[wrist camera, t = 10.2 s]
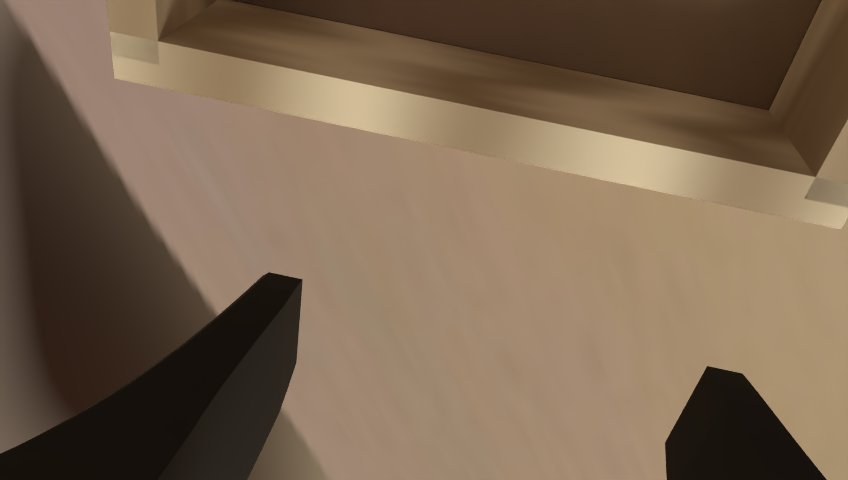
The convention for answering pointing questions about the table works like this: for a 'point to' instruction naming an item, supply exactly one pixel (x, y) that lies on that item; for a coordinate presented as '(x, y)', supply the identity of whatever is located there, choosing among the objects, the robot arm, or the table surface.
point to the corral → (513, 102)
